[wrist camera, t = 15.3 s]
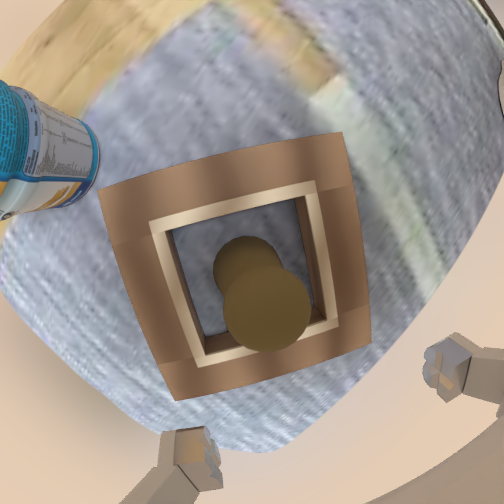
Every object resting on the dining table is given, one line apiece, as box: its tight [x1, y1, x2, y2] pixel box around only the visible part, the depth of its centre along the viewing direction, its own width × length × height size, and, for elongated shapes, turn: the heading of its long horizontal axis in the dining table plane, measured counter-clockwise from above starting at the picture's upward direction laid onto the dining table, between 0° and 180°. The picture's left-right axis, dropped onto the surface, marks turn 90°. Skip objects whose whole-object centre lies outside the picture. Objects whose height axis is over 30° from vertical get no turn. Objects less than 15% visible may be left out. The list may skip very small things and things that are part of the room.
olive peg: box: [213, 236, 312, 352], centre depth 21 cm, size 6×6×11 cm
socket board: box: [97, 132, 372, 401], centre depth 25 cm, size 20×20×3 cm
